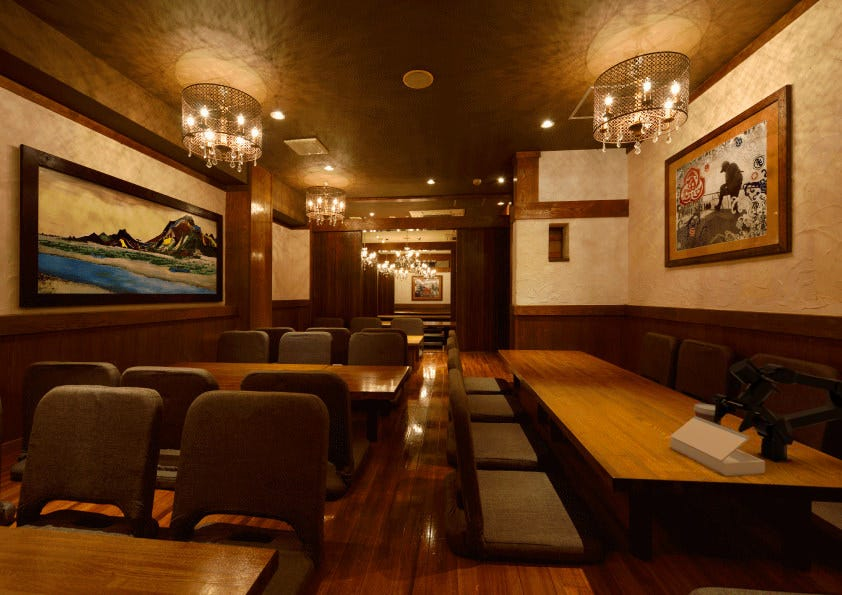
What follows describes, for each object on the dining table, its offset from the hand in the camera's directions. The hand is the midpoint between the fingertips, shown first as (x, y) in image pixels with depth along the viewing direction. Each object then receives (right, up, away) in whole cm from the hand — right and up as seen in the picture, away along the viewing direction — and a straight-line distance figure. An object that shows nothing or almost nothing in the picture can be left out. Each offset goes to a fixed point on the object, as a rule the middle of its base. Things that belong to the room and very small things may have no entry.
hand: (726, 426), depth 131 cm
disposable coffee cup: (+9, -11, +20) cm, 25 cm away
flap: (-7, -3, -1) cm, 8 cm away
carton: (-5, -11, -1) cm, 12 cm away
